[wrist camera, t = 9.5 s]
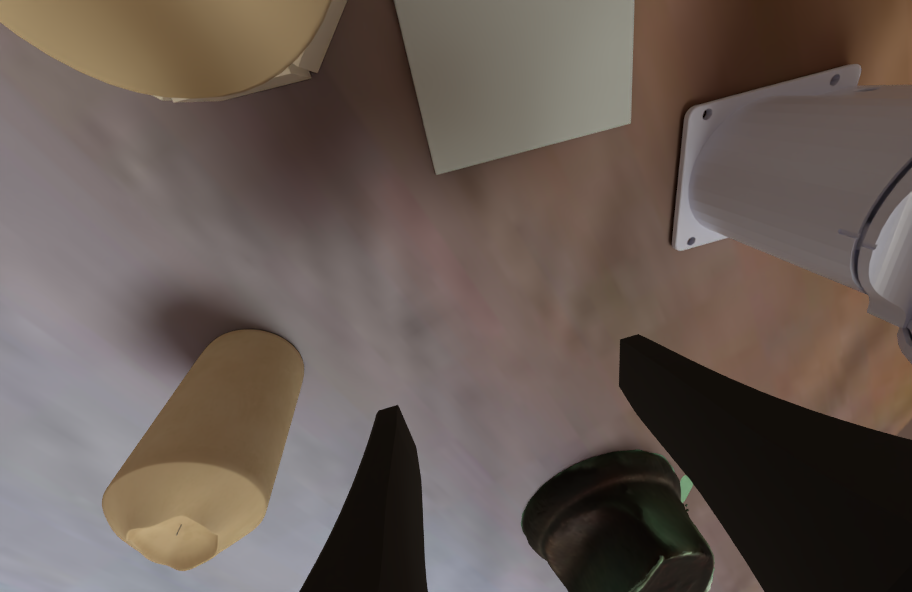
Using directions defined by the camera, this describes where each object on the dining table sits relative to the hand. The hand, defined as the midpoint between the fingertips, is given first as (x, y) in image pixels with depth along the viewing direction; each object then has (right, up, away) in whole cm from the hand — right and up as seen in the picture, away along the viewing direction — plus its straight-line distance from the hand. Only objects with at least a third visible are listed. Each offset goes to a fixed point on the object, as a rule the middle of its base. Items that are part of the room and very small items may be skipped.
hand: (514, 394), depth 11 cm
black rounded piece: (+12, -17, +25) cm, 32 cm away
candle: (-14, -1, +10) cm, 17 cm away
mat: (+1, +15, +4) cm, 15 cm away
